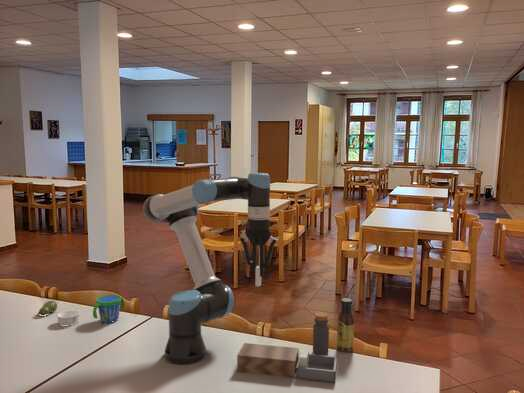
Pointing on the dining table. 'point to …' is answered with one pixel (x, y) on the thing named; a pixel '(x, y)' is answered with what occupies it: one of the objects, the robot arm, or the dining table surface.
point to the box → (318, 369)
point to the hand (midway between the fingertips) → (258, 285)
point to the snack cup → (108, 307)
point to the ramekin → (68, 317)
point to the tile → (304, 359)
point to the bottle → (320, 334)
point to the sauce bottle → (345, 327)
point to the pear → (48, 307)
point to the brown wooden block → (268, 360)
